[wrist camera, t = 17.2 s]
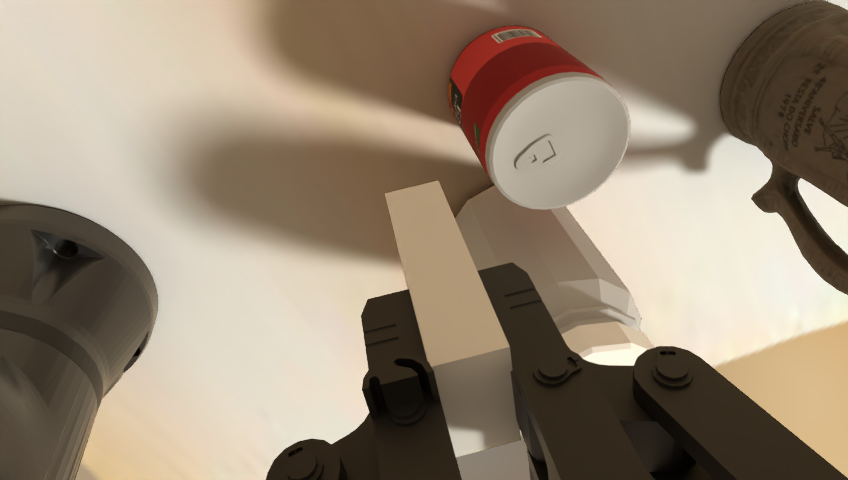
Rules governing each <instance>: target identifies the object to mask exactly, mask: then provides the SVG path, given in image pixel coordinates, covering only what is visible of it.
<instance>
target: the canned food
mask: <svg viewBox="0 0 848 480" xmlns="http://www.w3.org/2000/svg"><path fill="white" fill-rule="evenodd" d="M448 98H449V104H450V108H451V110H452V113H453V115H454V117H455V119H456V121H457V122H458V124H459V126H460V127H461V129H462V131H463V133H464V134H465V136H466V138H467V140H468V141H469V143H470V145H471V147H472V148H473V150H474V152H475V154H476V155H477V157H478V159H479V161H480V162H481V164H482V166H483V168H484V169H485V171H486V173H487V174H488V175H489V177H490V179H491V180H492V182H493V183H494V185H495V186H496V187H497V189H498V190H499V191H500V192H501V193H502V194H503V195H504V196H505V197H507V198H508V199H509V200H510V201H512V202H514V203H516V204H518V205H520V206H523V207H527V208H531V209H543V210H546V209H554V208H560V207H563V206H567V205H570V204H573V203H575V202H577V201H579V200H581V199H583V198H585V197H586V196H588V195H590V194H591V193H593V192H594V191H596V190H597V189H598V188H599V187H600V186H601V185H602V184H604V183H605V182H606V181H607V180H608V178H609V177H610V176H611V175H612V174H613V173H614V171H615V170H616V168H617V167H618V165H619V164H620V162H621V160H622V159H623V156H624V154H625V151H626V149H627V146H628V142H629V137H630V117H629V113H628V109H627V107H626V105H625V103H624V101H623V99H622V97H621V96H620V95H619V94H618V93H617V92H616V90H615V89H614V88H613V87H612V86H611V85H610V84H609V83H608V82H606V81H605V80H604V79H603V78H602V77H600V76H599V75H598V74H596V73H595V72H594V71H592V70H591V69H590V68H588V67H587V66H586V65H584V64H583V63H581V62H580V61H579V60H577V59H576V58H575V57H573V56H572V55H571V54H569V53H568V52H567V51H565V50H564V49H563V48H561V47H560V46H559V45H557V44H556V43H554V42H553V41H552V40H550V39H549V38H548V37H546V36H545V35H543V34H542V33H540V32H539V31H537V30H534V29H531V28H529V27H522V26H507V27H501V28H497V29H493V30H490V31H488V32H486V33H484V34H482V35H480V36H479V37H477V38H476V39H475V40H473V41H472V42H471V43H470V44H469V45H468V46H467V47H466V48H465V49H464V50H463V51H462V53H461V54H460V56H459V57H458V58H457V60H456V62H455V64H454V67H453V69H452V72H451V76H450V80H449V85H448Z"/></svg>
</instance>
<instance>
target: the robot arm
mask: <svg viewBox="0 0 848 480" xmlns="http://www.w3.org/2000/svg"><path fill="white" fill-rule="evenodd" d="M385 197H386V201H387V206H388V210H389V214H390V218H391V222H392V226H393V231H394V235H395V239H396V243H397V247H398V252H399V256H400V260H401V264H402V268H403V273H404V276H405V280H406V284H407V288H408V290H404V291H400V292H395V293H391V294H387V295H383V296H379V297H375V298H371V299H368V300H367V303H366V305H365V307H364V310H363V312H362V315H361V318H362V325H363V332H364V340H365V346H366V354H367V361H368V368H369V370H368V372H367V374H366V375H365V377H364V378H363V386H362V391H363V394H364V397H365V400H366V403H367V406H368V409H369V414H368V416H367V417H366V419H365V421H364V422H363V423H362V424H361V425H360V426H359V427H358V428H357V429H356V430H354V431H353V432H352V433H350V434H349V435H347V436H345V437H344V438H342V439H340V440H338V441H337V442H335V443H333V444H332V445H331V444H329V443H328V442H326V441H325V440H318V439H308V440H304V441H299V442H297V443H295V444H293V445H291V446H290V447H288V448H286V449H285V450H284V451H283V452H282V453H281V454H280V455H279V456H278V457H277V458H276V459H275V460H274V462H273V464H272V466H271V468H270V470H269V472H268V474H267V478H266V480H462V479H461V476H460V471H459V468H458V464H457V460H456V457H459V456H462V455H466V454H470V453H474V452H477V451H482V450H485V449H489V448H493V447H497V446H500V445H504V444H507V443H511V442H515V441H519V440H521V436H520V430H521V433H522V435H523V438H524V441H525V443H526V446H527V453H528V461H529V471H530V479H531V480H848V478H847V477H846V476H844V475H843V474H842V473H841V472H839V471H838V470H837V469H835V468H834V467H833V466H832V465H831V464H830V463H828V462H827V461H826V460H825V459H824V458H822V457H821V456H820V455H819V454H817V453H816V452H815V451H814V450H813V449H811V448H810V447H809V446H808V445H806V444H805V443H804V442H803V441H802V440H800V439H799V438H798V437H797V436H795V435H794V434H793V433H792V432H791V431H789V430H788V429H787V428H786V427H784V426H783V425H782V424H781V423H780V422H778V421H777V420H776V419H775V418H773V417H772V416H771V415H770V414H769V413H767V412H766V411H765V410H764V409H762V408H761V407H760V406H759V405H758V404H756V403H755V402H754V401H753V400H751V399H750V398H749V397H748V396H747V395H745V394H744V393H743V392H742V391H740V390H739V389H738V388H737V387H736V386H734V385H733V384H732V383H731V382H729V381H728V380H727V379H726V378H725V377H723V376H722V375H721V374H720V373H718V372H717V371H716V370H715V369H714V368H712V367H711V366H710V365H709V364H707V363H706V362H705V361H704V360H703V359H701V358H700V357H698V356H697V355H695V354H693V353H692V352H690V351H688V350H685V349H681V348H677V347H674V346H659V347H655V348H652V349H649V350H646V351H645V352H643V353H642V354H641V355H640V356H638V357H637V359H636V361H635V364H634V366H619V365H600V364H596V363H592V362H589V361H586V360H584V359H583V358H582V357H581V356H580V355H579V354H577V353H575V352H573V351H571V350H570V348H569V347H568V346H567V344H566V343H565V341H564V339H563V337H562V335H561V333H560V332H559V330H558V328H557V326H556V324H555V322H554V321H553V319H552V317H551V315H550V313H549V311H548V310H547V308H546V306H545V304H544V302H542V299H541V297H540V295H539V293H538V291H537V290H536V288H535V286H534V284H533V282H532V280H531V278H530V277H529V275H528V273H527V272H526V271H524V270H523V269H521V268H520V267H518V266H517V265H516V264H514V263H513V262H511V263H507V264H503V265H499V266H495V267H490V268H486V269H482V270H478V271H477V269H476V267H475V265H474V262H473V260H472V258H471V255H470V253H469V251H468V248H467V246H466V244H465V241H464V239H463V237H462V234H461V232H460V230H459V227H458V225H457V223H456V220H455V218H454V216H453V213H452V211H451V209H450V206H449V204H448V202H447V199H446V197H445V195H444V192H443V190H442V188H441V185H440V183H439V181H434V182H430V183H425V184H421V185H417V186H413V187H409V188H405V189H400V190H396V191H392V192H388V193H385ZM157 311H158V295H157V289H156V286H155V283H154V280H153V278H152V275H151V273H150V271H149V270H148V268H147V266H146V265H145V263H144V262H143V261H142V259H141V258H140V257H139V256H138V254H137V253H136V252H135V251H134V250H133V249H132V248H131V247H130V246H129V245H128V244H126V243H125V242H124V241H123V240H122V239H120V238H119V237H118V236H116V235H115V234H113V233H112V232H110V231H109V230H107V229H105V228H104V227H102V226H100V225H98V224H96V223H94V222H92V221H90V220H88V219H85V218H83V217H80V216H77V215H75V214H72V213H68V212H65V211H61V210H57V209H52V208H47V207H40V206H30V205H7V206H0V480H75V478H76V475H77V472H78V469H79V466H80V462H81V459H82V456H83V453H84V450H85V447H86V444H87V441H88V438H89V435H90V432H91V429H92V426H93V423H94V420H95V417H96V414H97V411H98V408H99V406H100V403H101V400H102V399H103V398H104V396H105V395H106V394H107V393H108V392H109V391H110V390H111V389H112V388H113V386H114V385H115V384H116V383H117V382H118V381H119V379H120V378H121V377H122V375H123V373H124V372H125V371H127V370H128V369H129V368H130V367H131V366H132V365H133V364H134V363H135V362H136V361H137V359H138V358H139V357H140V356H141V354H142V353H143V351H144V349H145V348H146V346H147V344H148V342H149V340H150V337H151V334H152V330H153V327H154V324H155V320H156V317H157Z"/></svg>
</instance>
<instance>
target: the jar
mask: <svg viewBox="0 0 848 480" xmlns="http://www.w3.org/2000/svg"><path fill="white" fill-rule="evenodd" d="M455 220H456V223H457V225H458V227H459V230H460V232H461V234H462V237H463V239H464V241H465V244H466V246H467V248H468V251H469V253H470V255H471V258H472V260H473V262H474V265H475V267H476V269H477V271H478V270H482V269H486V268H490V267H495V266H499V265H503V264H507V263H511V262H513V263H514V264H516V265H517V266H518V267H520V268H521V269H523V270H524V271H526V272H527V273H528V275H529V277H530V278H531V280H532V282H533V284H534V286H535V288H536V290H537V291H538V293H539V295H540V297H541V299H542V302H544V304H545V306H546V308H547V310H548V311H549V313H550V315H551V317H552V319H553V321H554V322H555V324H556V326H557V328H558V330H559V332H560V333H561V335H562V337H563V339H564V341H565V343H566V344H567V346H568V347H569V348H570V350H571V351H573V352H575V353H577V354H579V355H580V356H581V357H582V358H583V359H584V360H586V361H589V362H592V363H596V364H600V365H619V366H634V364H635V361H636V359H637V357H638V356H640V355H641V354H642V353H643V352H645V351H646V350H649V349H652V348H655V347H654V345H653V344H652V343H651V341H650V340H649V339H648V337H647V336H646V334H645V333H643V332H641V330H640V328H639V327H640V323H641V320H642V318H641V316H640V314H639V311H638V309H637V307H636V305H635V302H634V300H633V298H632V296H631V293H630V292H629V290H628V289H627V288H626V286H625V285H624V284H623V282H622V281H621V280H620V278H619V277H618V276H617V274H616V273H615V272H614V270H613V269H612V268H611V266H610V265H609V264H608V262H607V261H606V260H605V258H604V257H603V256H602V254H601V253H600V252H599V250H598V249H597V248H596V246H595V245H594V244H593V242H592V241H591V240H590V238H589V237H588V236H587V234H586V233H585V232H584V230H583V229H582V228H581V226H580V225H579V224H578V222H577V221H576V220H575V218H574V217H573V216H572V214H571V213H570V212H569V210H568V209H567V208H566V206H563V207H560V208H554V209H546V210H543V209H531V208H527V207H523V206H520V205H518V204H516V203H514V202H512V201H510V200H509V199H508V198H507V197H505V196H504V195H503V194H502V193H501V192H500V191H499V190H498V189H497V187H496V186H495V185H494V186H492V187H490V188H489V189H487V190H485V191H483V192H481V193H480V194H478V195H476V196H474V197H473V198H471V199H469V200H467V202H466V203H465V205H464V206H463V208H462V209H461V211H460V212H459V214H458V215H457V216H456V218H455Z"/></svg>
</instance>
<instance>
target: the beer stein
mask: <svg viewBox="0 0 848 480" xmlns="http://www.w3.org/2000/svg"><path fill="white" fill-rule="evenodd" d="M720 107H721V112H722V118H723V121H724V123H725V124H726V126H727V128H728V129H729V131H731V132H732V133H733V134H734V135H735V136H736V137H737V138H738V139H740V140H742V141H744V142H745V143H748V144H752V145H754V146H757V148H759V149H760V150H761V151H762V152H763V154H764V155H765V156H766V157H767V158H768V159H770V161H771V163H772V165H773V168H772V174H771V178H770V179H769V181H768V182H767V183H766V184H765V185H764V186H763V187H762V188H761V189H760V190H758V191H757V192H756V193H755V194H753V196H752V198H751V199H752V200H753V202H754V203H755V204H756V205H757V207H759V208H760V209H761V210H762V211H764V212H767V213H773V212H777V213H778V214H779V215H780V216H781V217H782V218H783V219H784V221H785V222H786V224H787V225H788V227H789V229H790V231H791V233H792V235H793V238H794V240H795V242H796V243H797V245H798V247H799V249H800V251H801V253H802V255H803V257H804V258H805V259H806V260H807V262H808V263H809V264H810V265H811V267H812V268H813V269H814V270H815V272H816V273H817V274H818V275H819V276H820V277H821V278H823V279H824V280H825V281H826V282H827V283H829V284H830V285H832V286H833V287H834V288H836V289H837V290H839V291H841V292H843V293H845V294H847V295H848V255H847V254H846V253H845V252H844V251H843V250H842V249H841V248H840V247H839V246H838V245H837V244H835V242H834V241H833V240H832V239H831V238H830V237H829V235H828V234H827V233H826V232H825V231H824V229H823V228H822V227H821V226H820V224H819V223H818V222H817V220H816V219H815V217H814V216H813V215H812V213H811V212H810V210H809V208H808V207H807V205H806V203H805V202H804V200H803V198H802V196H801V195H800V193H799V190H798V181H799V179H800V178H802V179H804V180H806V181H808V182H809V183H811V184H813V185H814V186H816V187H817V188H819V189H820V190H822V191H823V192H825V193H827V194H828V195H830V196H831V197H833V198H834V199H836V200H837V201H839V202H840V203H842V204H843V205H845V206H847V207H848V10H846V9H844V8H842V7H840V6H838V5H835V4H831V3H828V2H812V3H806V4H800V5H798V6H795V7H793V8H790V9H787V10H785V11H782V12H780V13H778V14H777V15H775V16H774V17H772V18H770V19H769V20H767V21H766V22H764V23H763V24H762V25H761V26H760V27H758V29H757V30H756V31H755V32H754V33H753V34H752V35H751V36H750V37H749V38H748V39H747V40H746V41H745V42H744V43H743V45H742V46H741V48H740V49H739V50H738V52H737V53H736V54H735V56H734V58H733V60H732V62H731V64H730V66H729V68H728V70H727V72H726V74H725V78H724V82H723V85H722V89H721V93H720Z"/></svg>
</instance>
